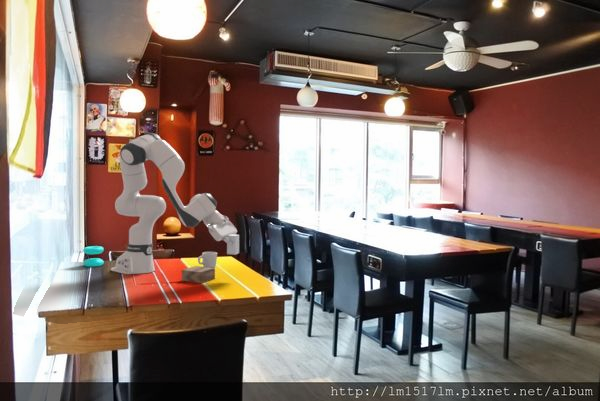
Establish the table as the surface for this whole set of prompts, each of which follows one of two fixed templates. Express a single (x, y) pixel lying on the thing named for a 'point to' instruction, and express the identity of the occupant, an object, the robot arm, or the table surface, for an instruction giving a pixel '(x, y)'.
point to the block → (235, 246)
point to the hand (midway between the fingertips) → (234, 243)
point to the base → (198, 274)
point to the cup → (208, 259)
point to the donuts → (93, 261)
